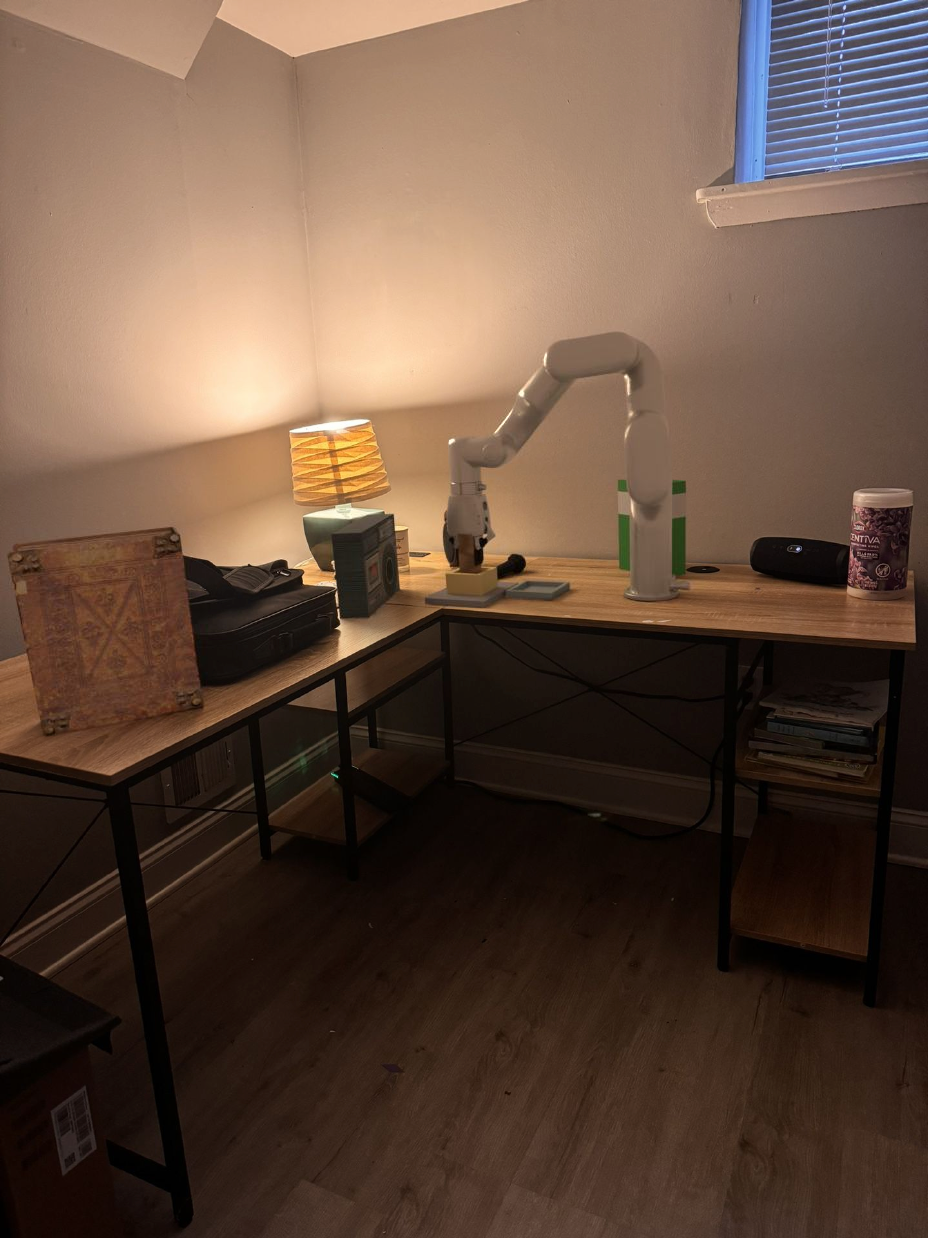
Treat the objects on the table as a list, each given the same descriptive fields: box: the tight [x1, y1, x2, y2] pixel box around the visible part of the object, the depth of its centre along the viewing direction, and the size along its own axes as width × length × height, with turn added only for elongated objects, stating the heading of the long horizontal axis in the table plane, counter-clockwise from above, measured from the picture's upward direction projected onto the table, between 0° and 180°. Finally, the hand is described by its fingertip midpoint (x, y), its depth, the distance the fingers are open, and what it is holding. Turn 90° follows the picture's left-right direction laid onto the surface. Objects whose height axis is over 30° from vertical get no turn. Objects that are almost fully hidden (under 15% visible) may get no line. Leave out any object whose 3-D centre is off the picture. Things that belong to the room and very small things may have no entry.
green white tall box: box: [617, 479, 687, 577], centre depth 225 cm, size 18×7×24 cm, turn 29°
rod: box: [457, 533, 482, 574], centre depth 210 cm, size 4×4×16 cm
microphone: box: [495, 553, 527, 579], centre depth 232 cm, size 6×6×20 cm
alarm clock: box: [442, 509, 459, 569], centre depth 243 cm, size 15×7×20 cm, turn 17°
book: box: [7, 526, 205, 737], centre depth 142 cm, size 25×9×30 cm, turn 112°
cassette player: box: [330, 513, 401, 619], centre depth 211 cm, size 29×7×20 cm, turn 170°
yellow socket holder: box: [424, 566, 519, 609], centre depth 212 cm, size 16×20×6 cm
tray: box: [505, 579, 571, 602], centre depth 211 cm, size 12×12×2 cm
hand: (470, 563), depth 211 cm, fingers closed on rod, 4 cm apart
